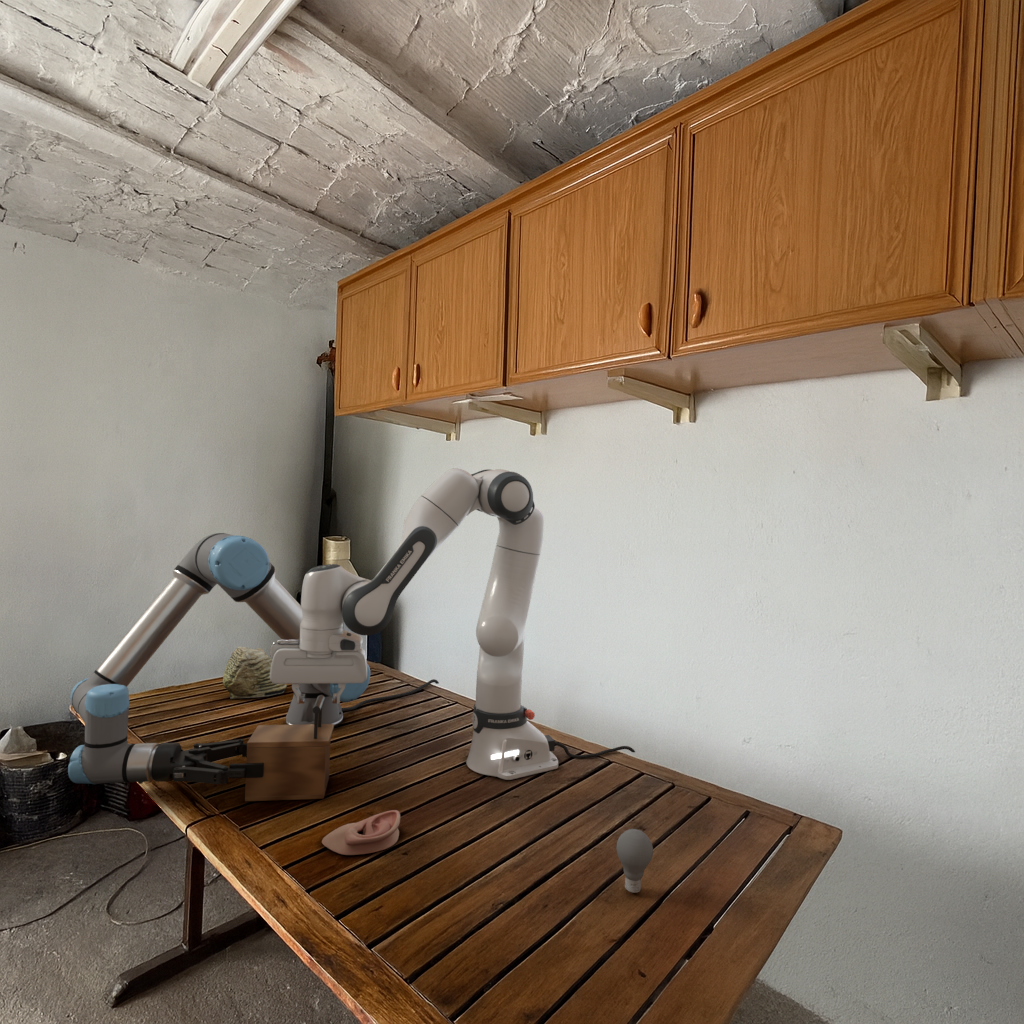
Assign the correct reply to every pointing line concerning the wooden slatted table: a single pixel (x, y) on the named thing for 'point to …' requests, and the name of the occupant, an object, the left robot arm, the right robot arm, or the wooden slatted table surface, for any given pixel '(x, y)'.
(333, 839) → the anatomical model
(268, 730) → the lid
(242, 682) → the fossil
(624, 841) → the light bulb
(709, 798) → the wooden slatted table surface
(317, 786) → the chest
